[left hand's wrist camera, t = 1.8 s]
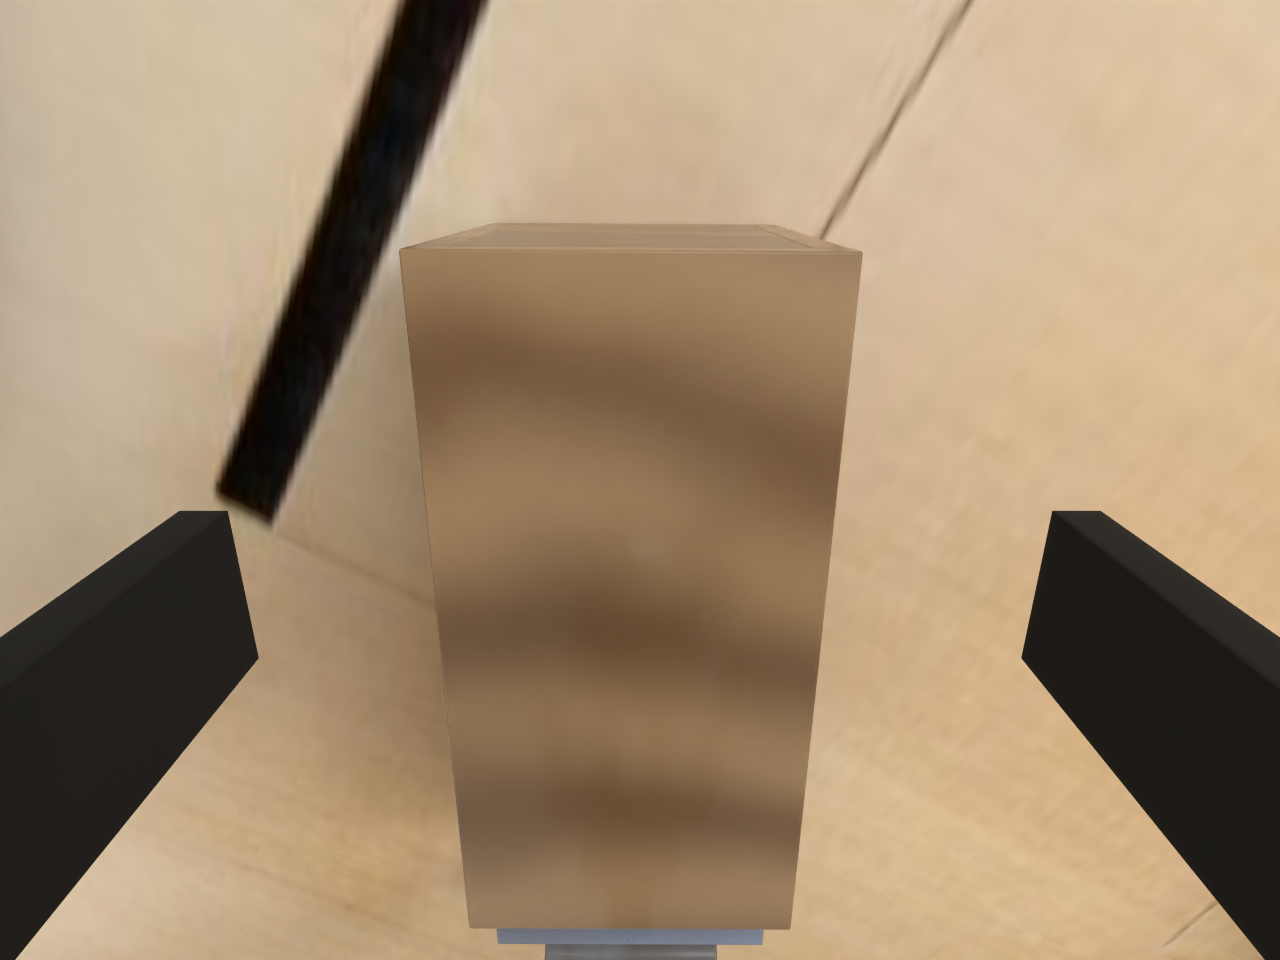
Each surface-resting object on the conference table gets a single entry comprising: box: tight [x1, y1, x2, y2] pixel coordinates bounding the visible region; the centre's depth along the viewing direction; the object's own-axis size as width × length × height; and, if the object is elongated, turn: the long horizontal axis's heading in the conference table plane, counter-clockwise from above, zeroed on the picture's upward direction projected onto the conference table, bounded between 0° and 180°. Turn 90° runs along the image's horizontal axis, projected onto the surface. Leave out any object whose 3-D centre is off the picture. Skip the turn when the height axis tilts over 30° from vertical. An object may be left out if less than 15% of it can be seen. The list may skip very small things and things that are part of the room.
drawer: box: [497, 928, 764, 960], centre depth 27 cm, size 25×9×9 cm, turn 0°
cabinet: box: [399, 223, 863, 930], centre depth 25 cm, size 20×10×11 cm, turn 0°
